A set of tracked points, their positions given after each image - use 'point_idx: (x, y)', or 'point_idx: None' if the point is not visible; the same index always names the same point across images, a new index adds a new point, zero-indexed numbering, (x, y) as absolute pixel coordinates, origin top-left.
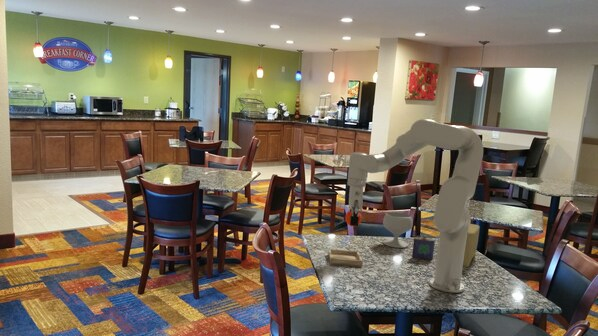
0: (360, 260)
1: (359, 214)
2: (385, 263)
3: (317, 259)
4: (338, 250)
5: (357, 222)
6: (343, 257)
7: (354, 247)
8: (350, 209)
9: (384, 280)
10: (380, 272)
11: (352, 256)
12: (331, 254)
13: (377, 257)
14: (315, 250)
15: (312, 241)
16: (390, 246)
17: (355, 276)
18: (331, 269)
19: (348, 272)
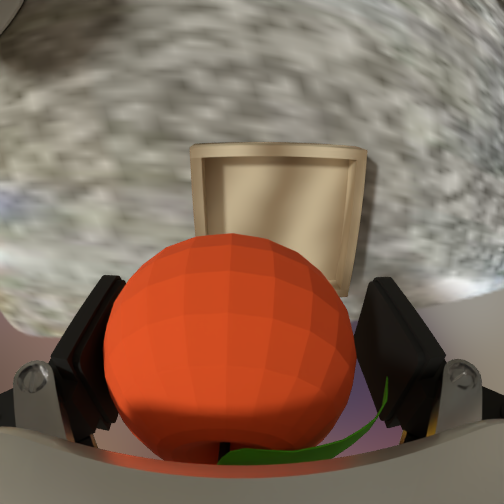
0: (360, 161)
1: (309, 356)
2: (273, 15)
3: None
4: None
5: (403, 306)
6: (256, 227)
7: (50, 158)
8: (96, 447)
9: (474, 103)
10: (407, 81)
11: (226, 178)
12: None
13: (177, 41)
14: None
15: (62, 324)
16: (19, 8)
17: (450, 201)
18: None
19: (417, 220)
